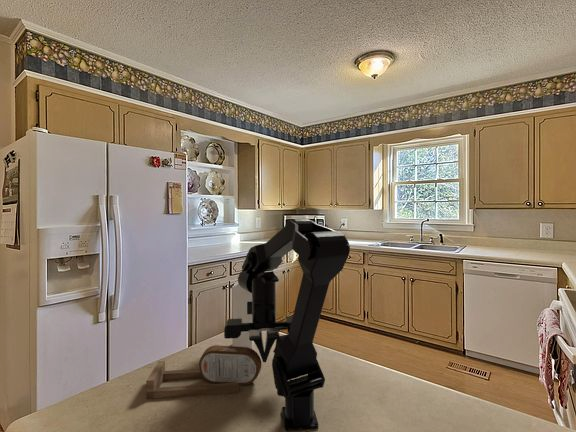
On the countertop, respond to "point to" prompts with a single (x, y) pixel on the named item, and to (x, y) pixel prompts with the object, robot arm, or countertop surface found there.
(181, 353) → the countertop surface
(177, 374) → the wooden frame
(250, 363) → the tin
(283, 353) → the robot arm
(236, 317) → the milk
